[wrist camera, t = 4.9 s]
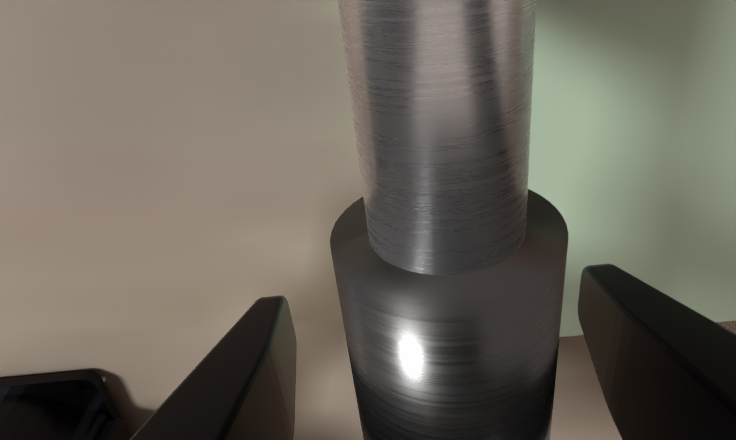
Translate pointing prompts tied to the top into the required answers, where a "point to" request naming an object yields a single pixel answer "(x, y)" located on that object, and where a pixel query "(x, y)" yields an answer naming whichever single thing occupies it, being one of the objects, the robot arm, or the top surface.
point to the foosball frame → (640, 143)
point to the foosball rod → (447, 225)
